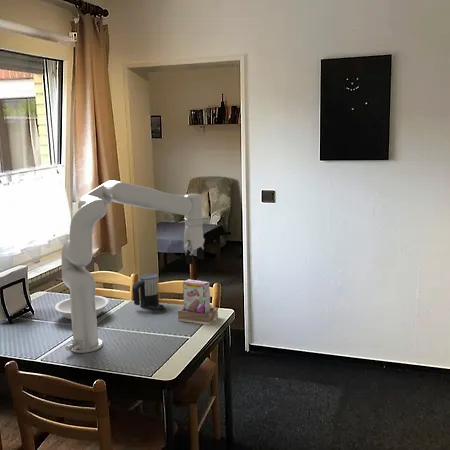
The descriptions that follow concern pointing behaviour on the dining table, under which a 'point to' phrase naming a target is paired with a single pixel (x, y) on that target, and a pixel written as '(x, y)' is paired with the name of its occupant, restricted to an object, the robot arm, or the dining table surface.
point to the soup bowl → (66, 312)
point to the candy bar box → (196, 296)
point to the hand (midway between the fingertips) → (195, 261)
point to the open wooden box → (198, 316)
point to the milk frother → (147, 292)
